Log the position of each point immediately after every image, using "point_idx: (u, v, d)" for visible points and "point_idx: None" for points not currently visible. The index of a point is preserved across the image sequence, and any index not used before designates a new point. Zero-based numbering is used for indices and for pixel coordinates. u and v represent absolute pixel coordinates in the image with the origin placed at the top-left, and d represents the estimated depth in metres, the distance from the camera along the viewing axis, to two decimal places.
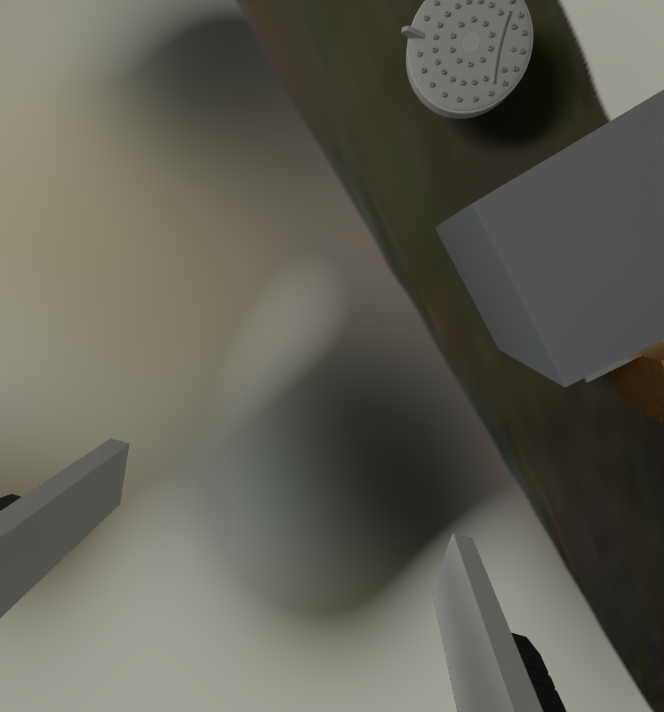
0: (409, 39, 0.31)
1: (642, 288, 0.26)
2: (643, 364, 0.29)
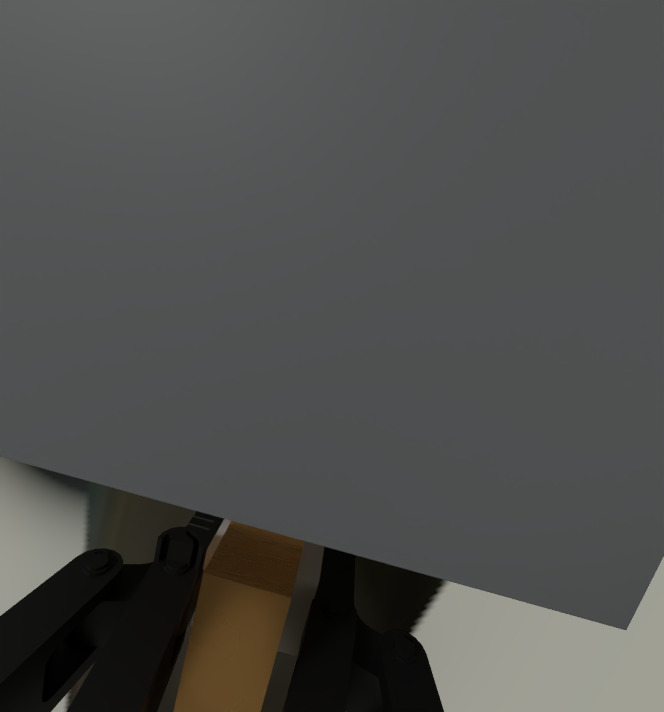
0: None
1: (302, 336, 0.07)
2: None
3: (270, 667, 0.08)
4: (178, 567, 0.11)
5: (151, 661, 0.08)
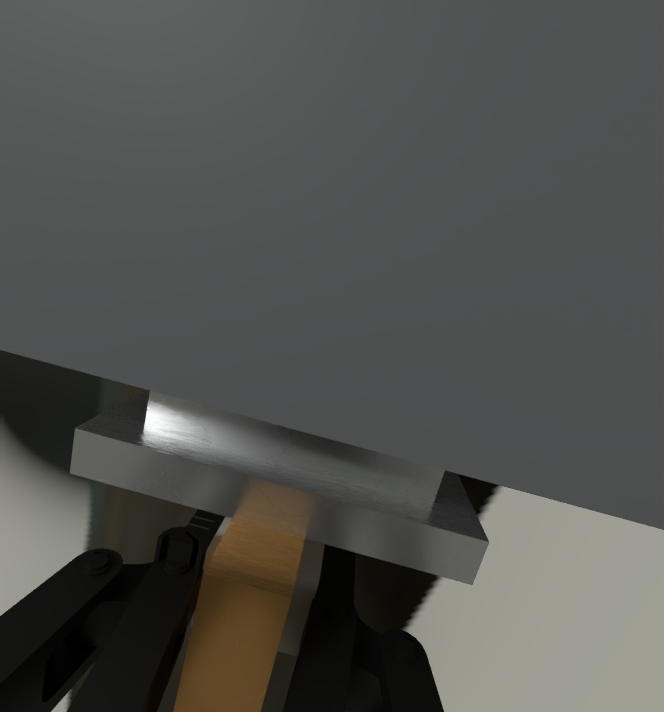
0: None
1: (333, 207, 0.06)
2: None
3: (270, 667, 0.08)
4: (178, 567, 0.11)
5: (151, 661, 0.08)
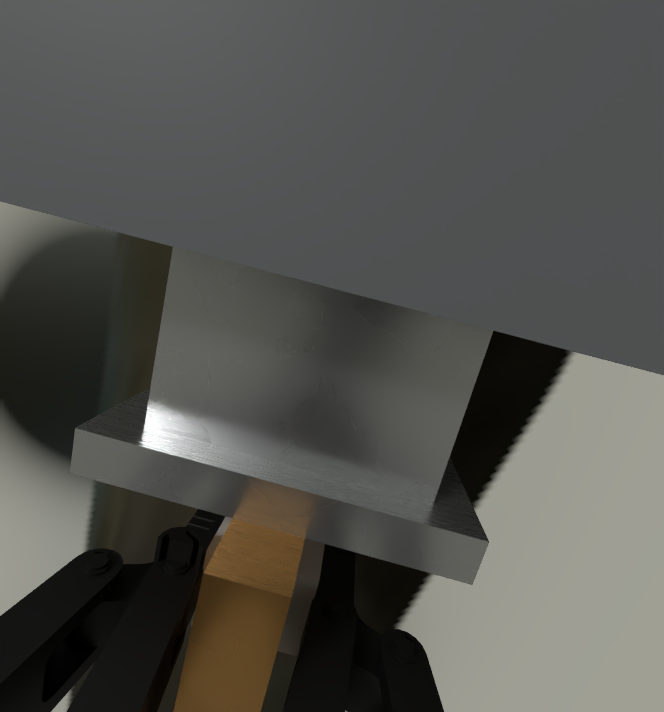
0: None
1: (378, 24, 0.06)
2: None
3: (270, 667, 0.08)
4: (178, 567, 0.11)
5: (151, 661, 0.08)
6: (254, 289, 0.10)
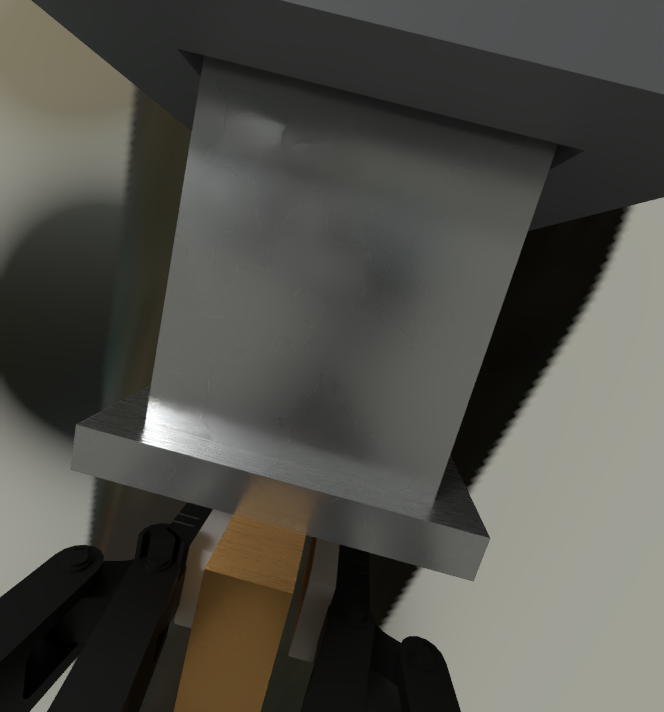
0: None
1: None
2: None
3: (271, 663, 0.08)
4: (159, 564, 0.10)
5: (133, 657, 0.08)
6: (255, 286, 0.10)
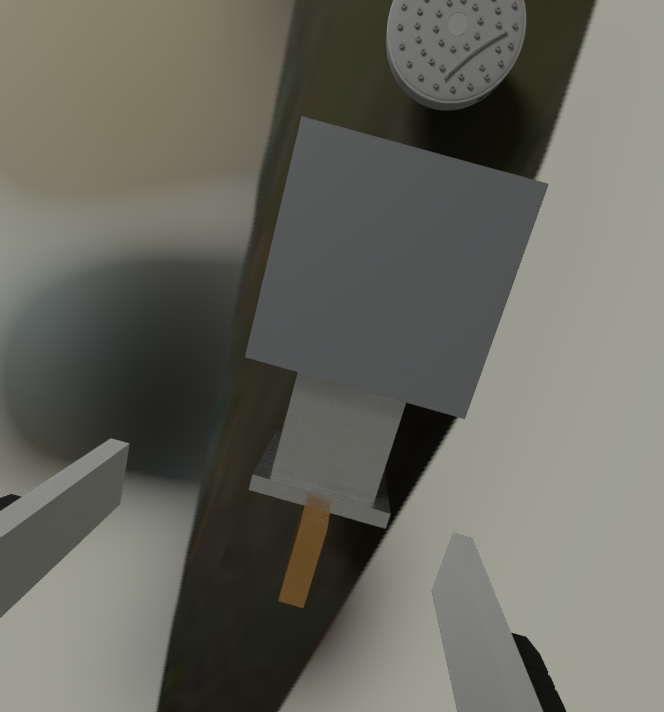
0: None
1: (370, 328, 0.24)
2: (302, 513, 0.29)
3: (320, 550, 0.27)
4: None
5: None
6: (313, 428, 0.28)
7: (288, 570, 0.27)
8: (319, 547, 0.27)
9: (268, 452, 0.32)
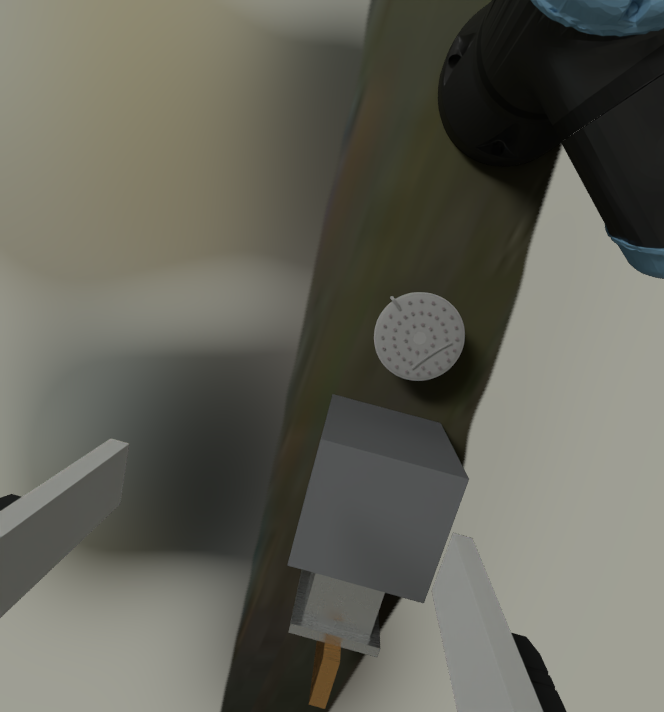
0: (392, 303, 0.42)
1: (364, 552, 0.39)
2: (323, 645, 0.45)
3: (335, 675, 0.42)
4: None
5: None
6: (329, 593, 0.44)
7: (315, 686, 0.43)
8: (334, 673, 0.42)
9: (298, 595, 0.48)
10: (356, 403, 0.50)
